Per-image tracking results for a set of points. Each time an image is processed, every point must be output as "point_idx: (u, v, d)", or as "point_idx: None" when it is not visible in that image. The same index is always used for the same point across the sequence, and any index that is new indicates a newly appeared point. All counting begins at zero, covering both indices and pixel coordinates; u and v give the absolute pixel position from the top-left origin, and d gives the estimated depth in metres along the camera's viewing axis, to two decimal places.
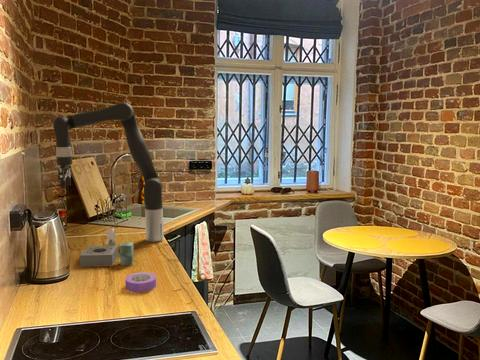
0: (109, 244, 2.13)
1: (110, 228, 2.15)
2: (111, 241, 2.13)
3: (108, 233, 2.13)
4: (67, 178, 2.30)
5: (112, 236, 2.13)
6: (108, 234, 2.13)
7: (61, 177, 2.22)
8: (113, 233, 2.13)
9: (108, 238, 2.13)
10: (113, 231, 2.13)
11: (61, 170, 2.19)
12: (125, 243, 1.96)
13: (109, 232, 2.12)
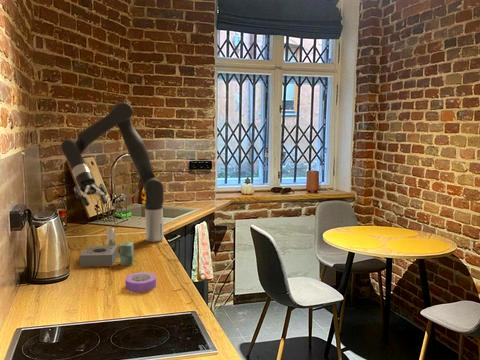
0: (109, 244, 2.13)
1: (110, 228, 2.15)
2: (111, 241, 2.13)
3: (108, 233, 2.13)
4: (101, 196, 2.00)
5: (112, 236, 2.13)
6: (108, 234, 2.13)
7: None
8: (113, 233, 2.13)
9: (108, 238, 2.13)
10: (113, 231, 2.13)
11: (75, 188, 1.94)
12: (125, 243, 1.96)
13: (109, 232, 2.12)
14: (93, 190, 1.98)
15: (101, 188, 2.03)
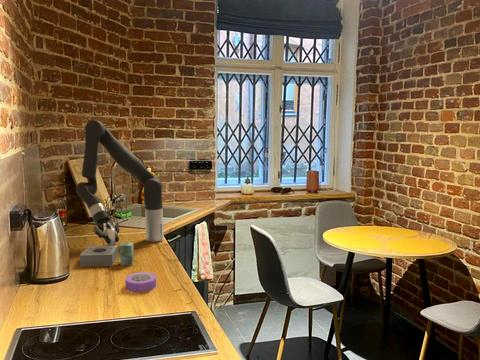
0: (109, 244, 2.13)
1: (110, 228, 2.15)
2: (111, 241, 2.13)
3: (108, 233, 2.13)
4: None
5: (112, 236, 2.13)
6: (108, 234, 2.13)
7: None
8: (113, 233, 2.13)
9: None
10: (113, 231, 2.13)
11: (94, 229, 2.12)
12: (125, 243, 1.96)
13: (109, 232, 2.12)
14: (107, 227, 2.16)
15: None
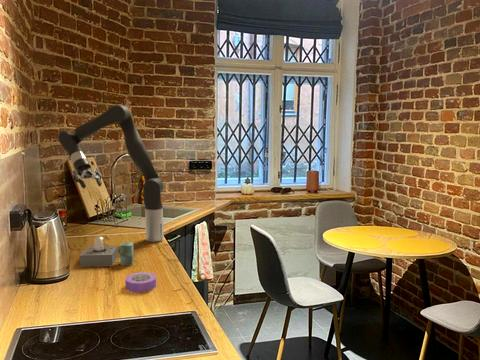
0: None
1: (98, 237, 1.99)
2: (99, 251, 1.97)
3: (96, 242, 1.97)
4: (96, 180, 2.24)
5: (100, 245, 1.97)
6: (96, 243, 1.97)
7: None
8: (101, 242, 1.97)
9: (96, 248, 1.97)
10: (101, 240, 1.97)
11: (73, 173, 2.17)
12: (125, 243, 1.96)
13: (97, 241, 1.96)
14: (89, 174, 2.22)
15: (96, 172, 2.27)
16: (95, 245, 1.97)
